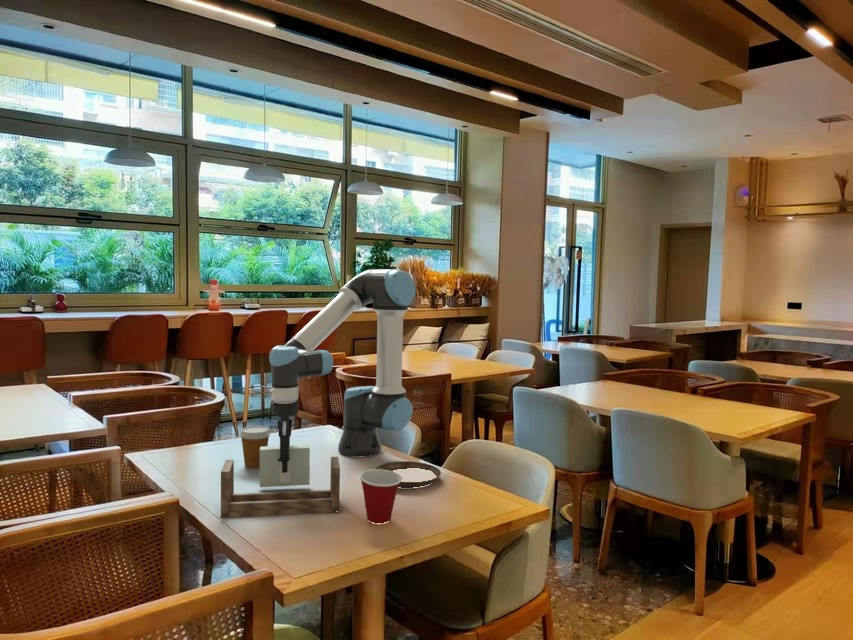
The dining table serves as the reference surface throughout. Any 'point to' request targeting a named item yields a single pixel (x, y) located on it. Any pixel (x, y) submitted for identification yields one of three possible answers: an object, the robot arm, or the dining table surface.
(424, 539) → the dining table surface
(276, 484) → the white flat block
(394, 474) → the plastic cup
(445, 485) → the dining table surface
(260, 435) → the disposable coffee cup
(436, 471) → the plant saucer
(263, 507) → the wooden rack
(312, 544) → the dining table surface
